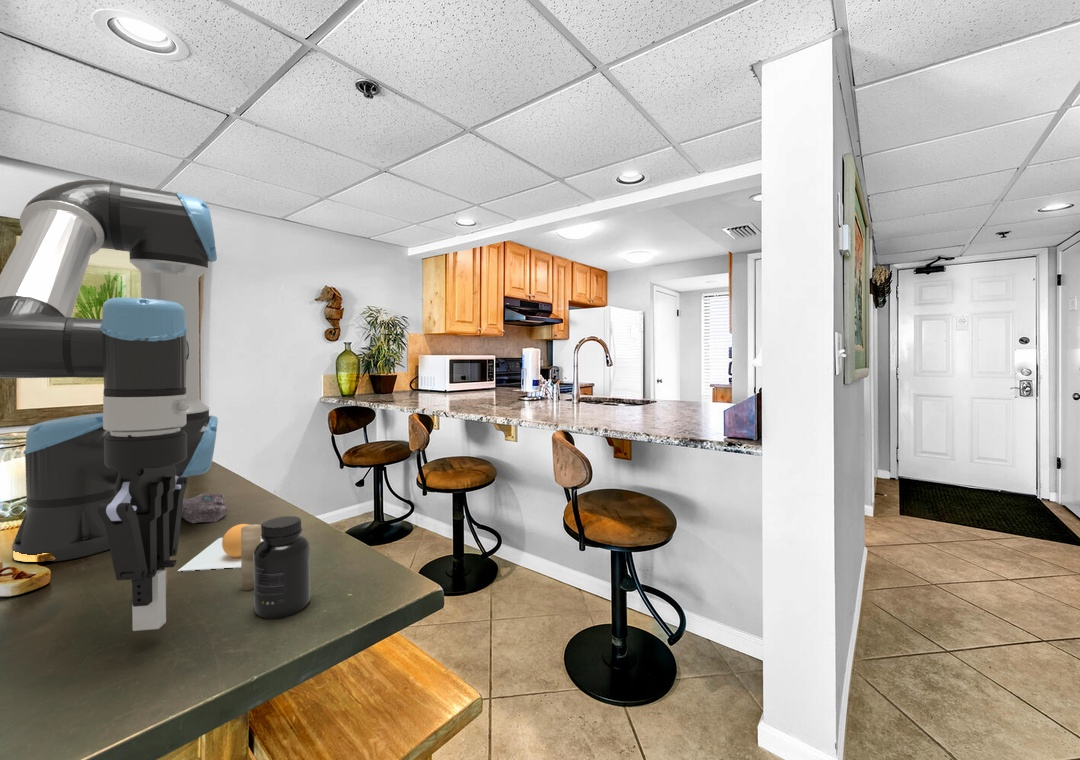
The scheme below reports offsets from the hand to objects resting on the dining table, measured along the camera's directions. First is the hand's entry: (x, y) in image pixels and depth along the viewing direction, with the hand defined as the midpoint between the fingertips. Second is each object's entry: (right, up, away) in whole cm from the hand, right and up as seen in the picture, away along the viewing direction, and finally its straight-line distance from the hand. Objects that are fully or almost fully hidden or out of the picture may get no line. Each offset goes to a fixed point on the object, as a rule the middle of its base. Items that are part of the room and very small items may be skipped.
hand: (149, 626), depth 56 cm
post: (+4, -1, +14) cm, 15 cm away
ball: (-5, +2, +24) cm, 25 cm away
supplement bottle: (+11, -2, +9) cm, 14 cm away
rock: (-26, 0, +44) cm, 51 cm away
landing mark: (-5, -1, +26) cm, 27 cm away
